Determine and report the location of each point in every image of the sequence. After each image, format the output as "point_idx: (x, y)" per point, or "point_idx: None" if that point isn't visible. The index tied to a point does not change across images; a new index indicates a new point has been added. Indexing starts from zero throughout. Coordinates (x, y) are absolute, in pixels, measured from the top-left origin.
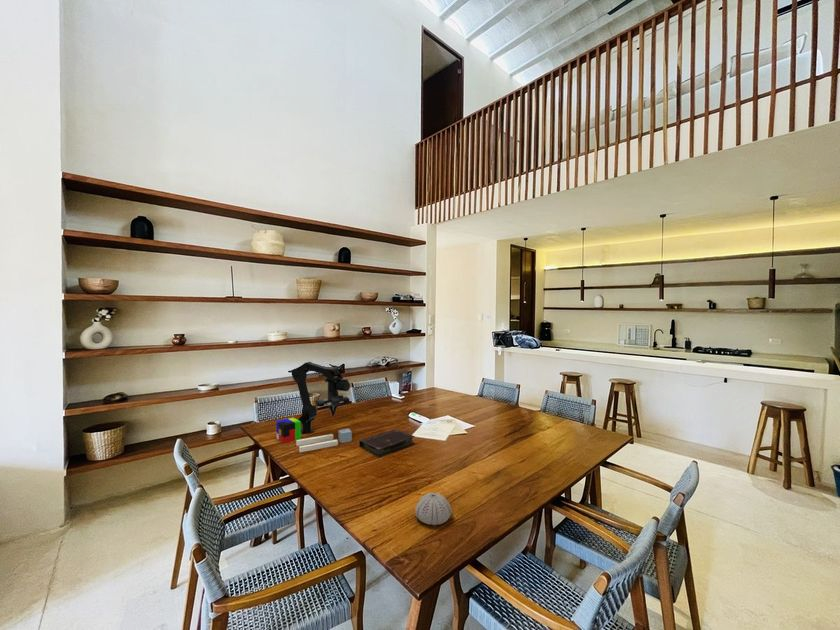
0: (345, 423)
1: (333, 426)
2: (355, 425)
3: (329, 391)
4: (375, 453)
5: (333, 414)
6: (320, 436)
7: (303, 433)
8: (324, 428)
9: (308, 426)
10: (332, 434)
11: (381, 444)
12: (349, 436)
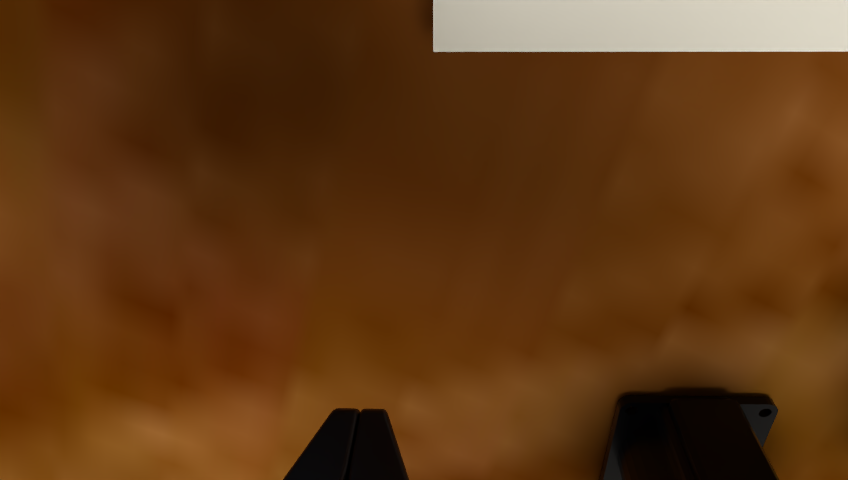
0: (147, 476)
1: None
2: (3, 376)
3: None
4: None
5: (332, 448)
6: (713, 22)
7: (759, 397)
8: (440, 442)
9: (729, 470)
10: (441, 19)
11: None
12: None
